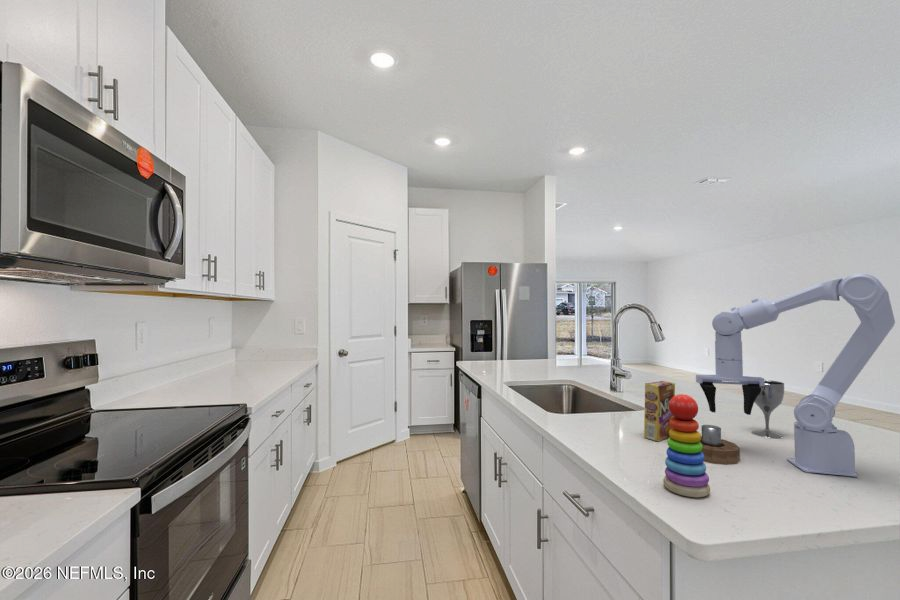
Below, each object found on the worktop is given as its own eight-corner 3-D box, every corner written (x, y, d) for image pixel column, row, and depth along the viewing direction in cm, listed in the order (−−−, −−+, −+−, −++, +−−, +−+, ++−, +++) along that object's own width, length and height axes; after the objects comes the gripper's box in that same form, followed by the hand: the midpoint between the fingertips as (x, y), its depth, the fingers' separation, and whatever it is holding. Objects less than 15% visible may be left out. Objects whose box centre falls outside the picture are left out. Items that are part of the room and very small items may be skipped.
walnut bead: (728, 450, 101) (728, 438, 102) (747, 466, 91) (746, 453, 91) (680, 446, 105) (680, 434, 105) (692, 461, 94) (692, 448, 94)
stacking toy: (667, 478, 85) (666, 389, 85) (712, 488, 80) (711, 393, 80) (659, 491, 78) (657, 395, 79) (707, 503, 73) (705, 400, 74)
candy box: (659, 442, 108) (658, 385, 108) (643, 438, 111) (643, 383, 112) (676, 436, 113) (675, 382, 113) (661, 432, 116) (660, 380, 117)
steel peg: (719, 454, 99) (718, 425, 99) (723, 459, 95) (723, 430, 95) (700, 452, 100) (699, 424, 100) (704, 457, 96) (703, 428, 97)
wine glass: (743, 431, 117) (742, 380, 118) (762, 429, 120) (761, 378, 120) (772, 440, 110) (771, 385, 110) (792, 437, 112) (791, 383, 112)
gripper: (755, 358, 104) (756, 411, 104) (692, 356, 108) (693, 407, 108) (767, 361, 97) (769, 417, 97) (700, 359, 102) (701, 413, 101)
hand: (729, 412), depth 102 cm, fingers open, 7 cm apart
